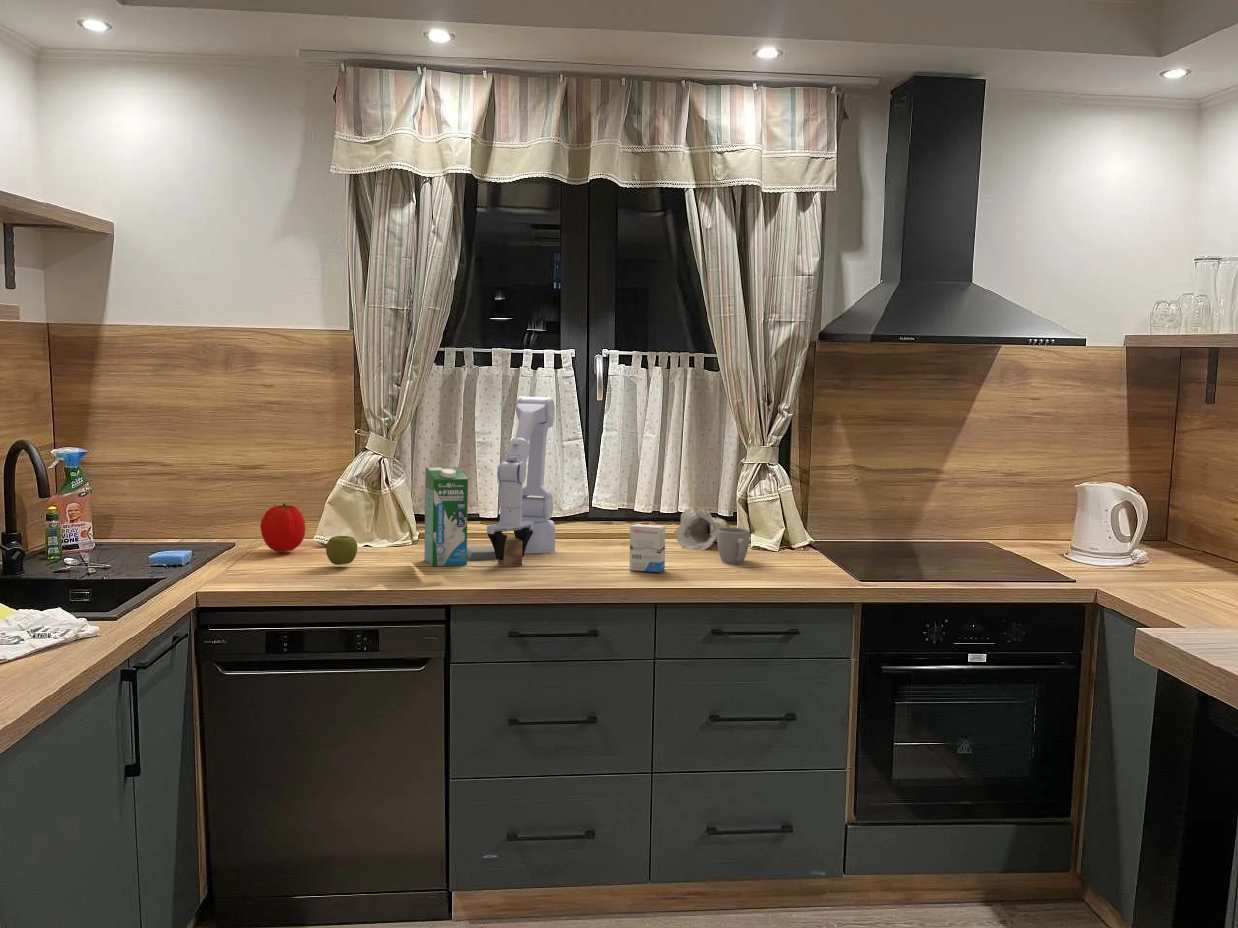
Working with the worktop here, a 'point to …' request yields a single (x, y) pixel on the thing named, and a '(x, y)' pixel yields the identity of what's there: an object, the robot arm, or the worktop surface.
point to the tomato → (283, 528)
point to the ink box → (647, 548)
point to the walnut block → (512, 552)
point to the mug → (733, 544)
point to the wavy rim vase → (698, 529)
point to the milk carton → (445, 516)
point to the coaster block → (481, 553)
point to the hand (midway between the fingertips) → (510, 558)
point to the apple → (341, 549)
